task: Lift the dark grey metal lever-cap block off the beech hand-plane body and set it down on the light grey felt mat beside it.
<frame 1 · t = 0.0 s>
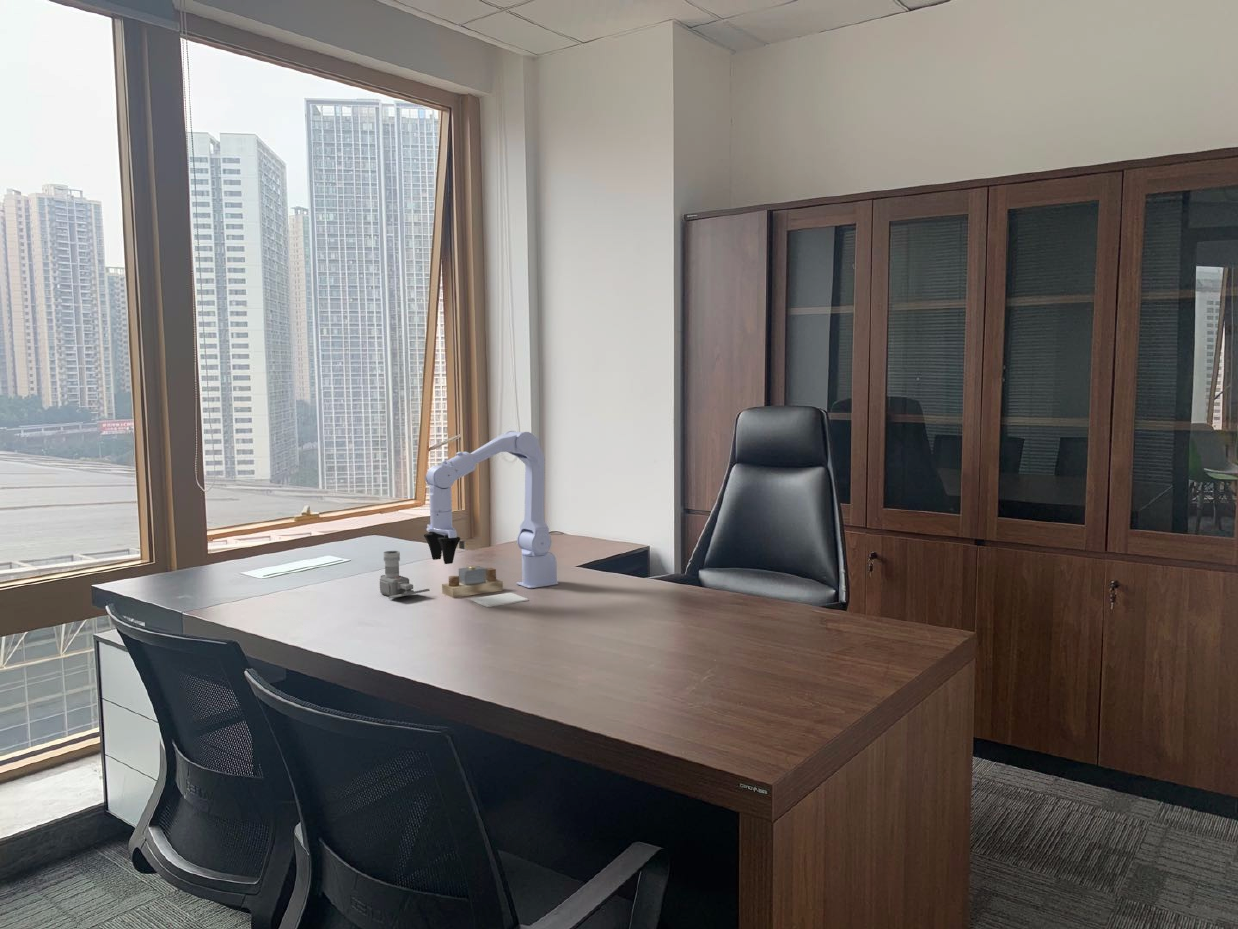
hand: (442, 561, 248), 10 cm above the table, fingers open, 7 cm apart
plane body: (472, 591, 257), on the table
felt mat: (499, 600, 246), on the table
lever cap: (472, 582, 257), point 2 cm above the table, touching plane body
camera: (400, 597, 253), on the table
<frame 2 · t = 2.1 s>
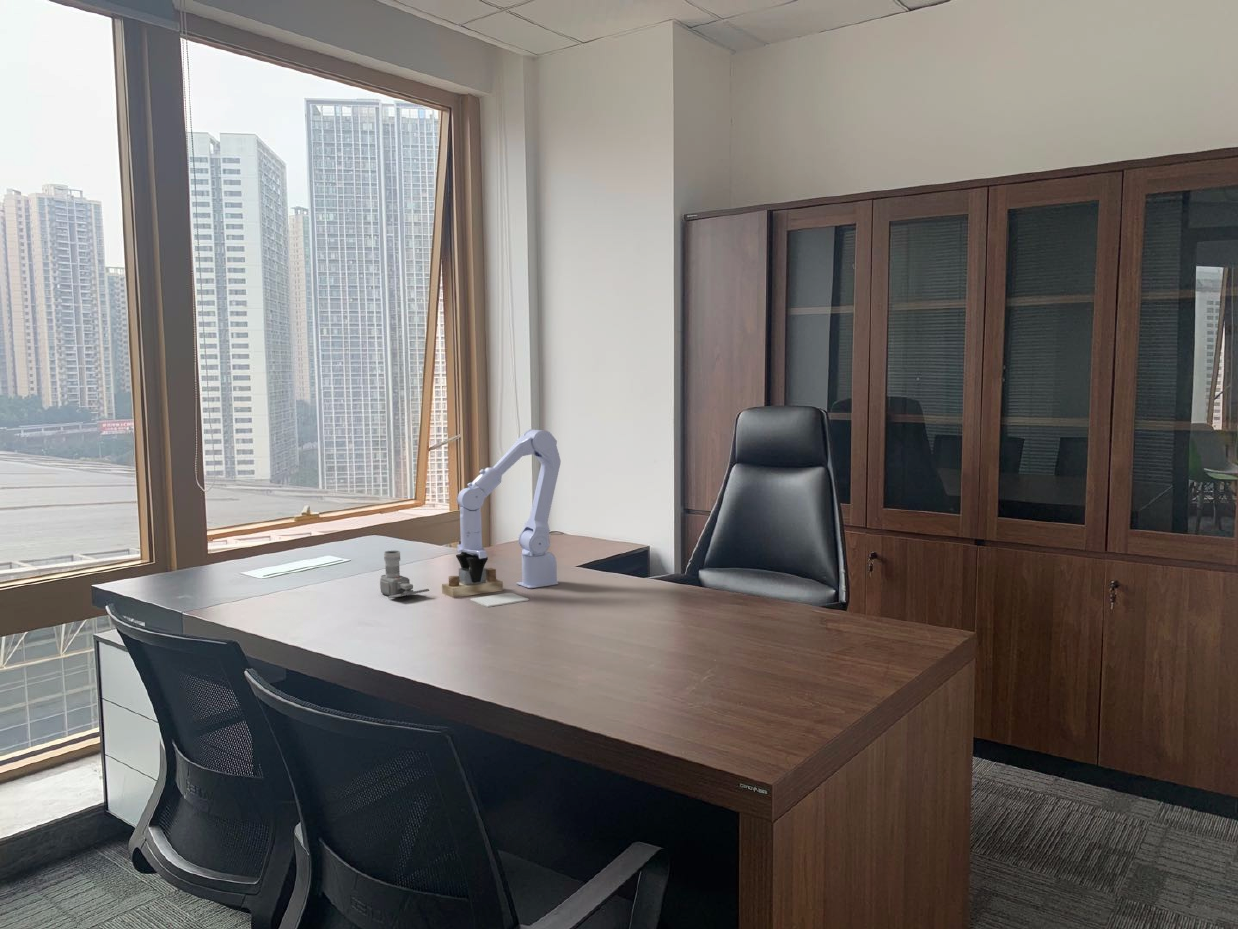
hand: (472, 580, 257), 3 cm above the table, fingers closed on lever cap, 4 cm apart
lever cap: (472, 582, 257), point 2 cm above the table, touching gripper, plane body
everything else where it was.
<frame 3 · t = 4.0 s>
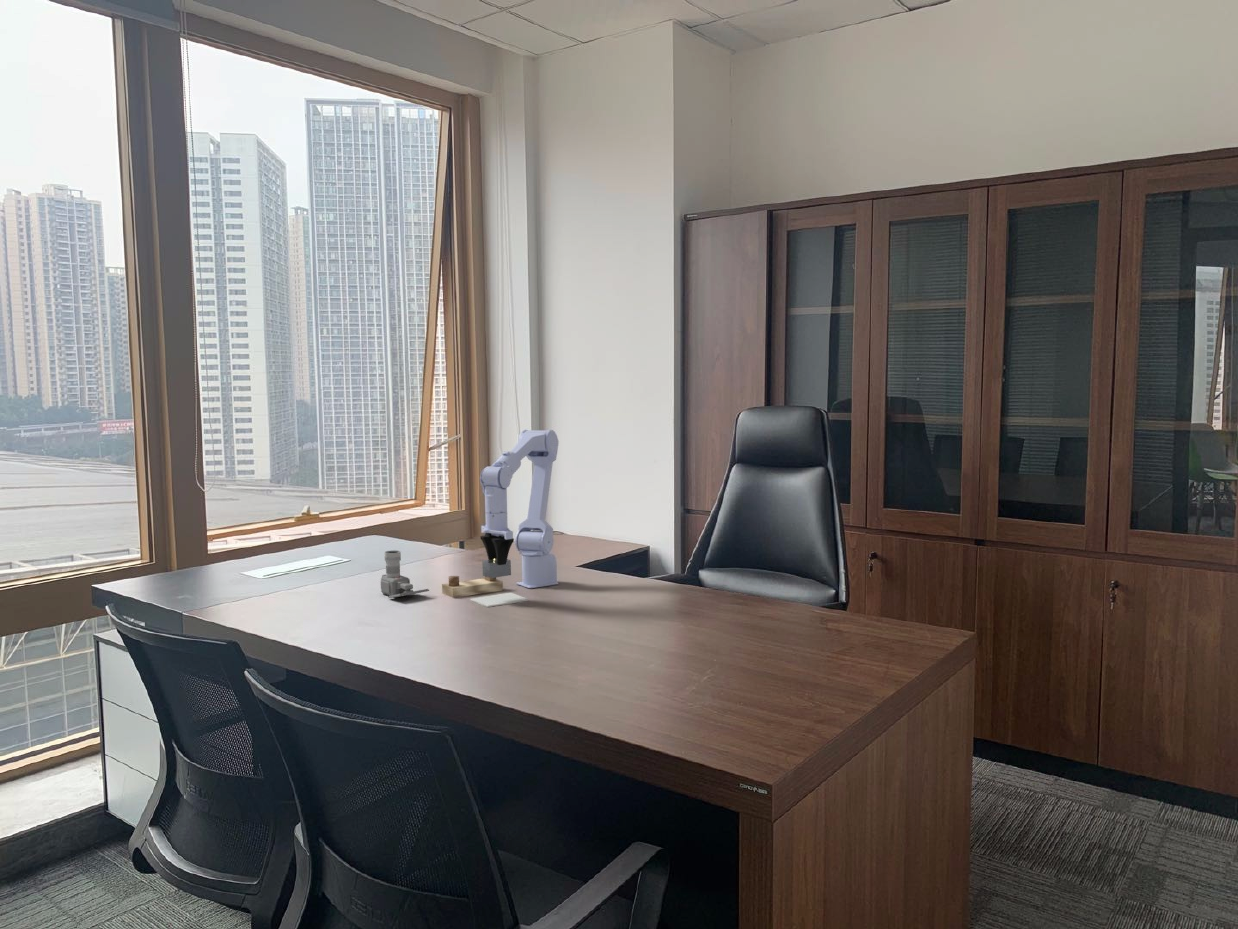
hand: (497, 563, 246), 10 cm above the table, fingers closed on lever cap, 4 cm apart
lever cap: (497, 575, 246), point 7 cm above the table, touching gripper
everything else where it was.
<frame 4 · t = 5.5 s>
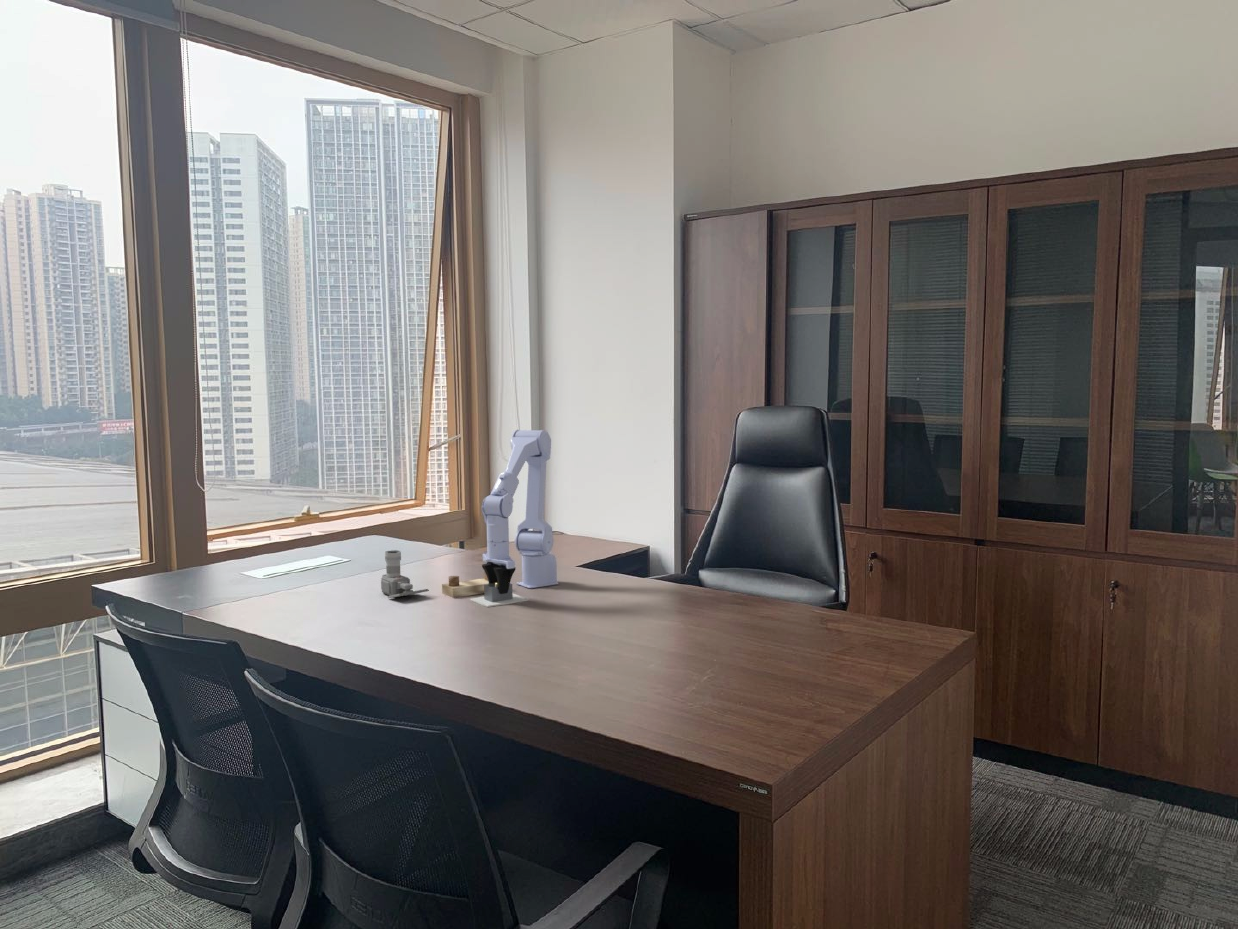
hand: (499, 591, 246), 2 cm above the table, fingers closed on lever cap, 4 cm apart
lever cap: (498, 599, 246), resting on felt mat, touching gripper
everything else where it was.
when the fingers open (2 cm above the table, at t = 6.4 s): lever cap stays where it is, resting on felt mat.
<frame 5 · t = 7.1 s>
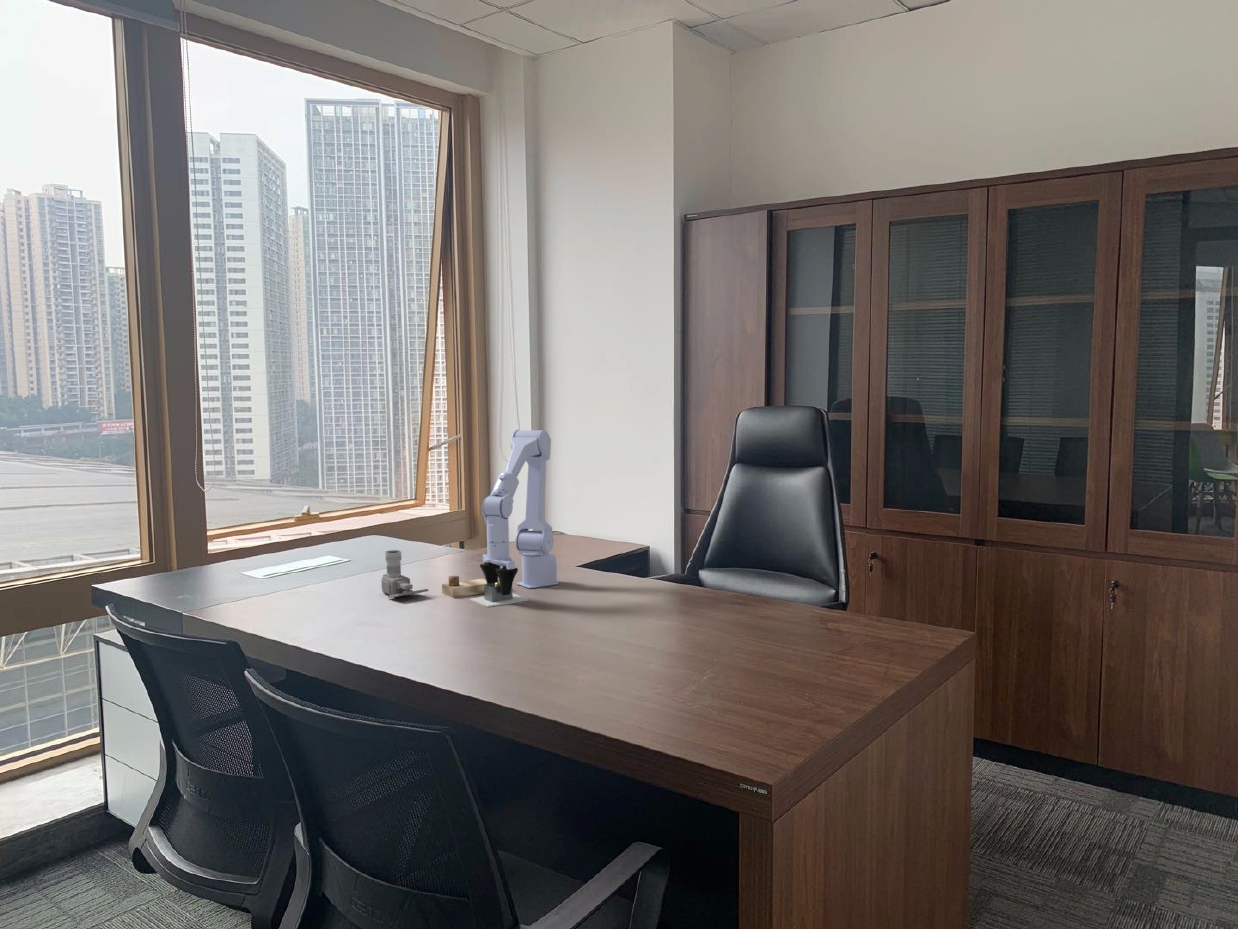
hand: (499, 592, 246), 2 cm above the table, fingers open, 7 cm apart
lever cap: (498, 599, 246), resting on felt mat
everything else where it was.
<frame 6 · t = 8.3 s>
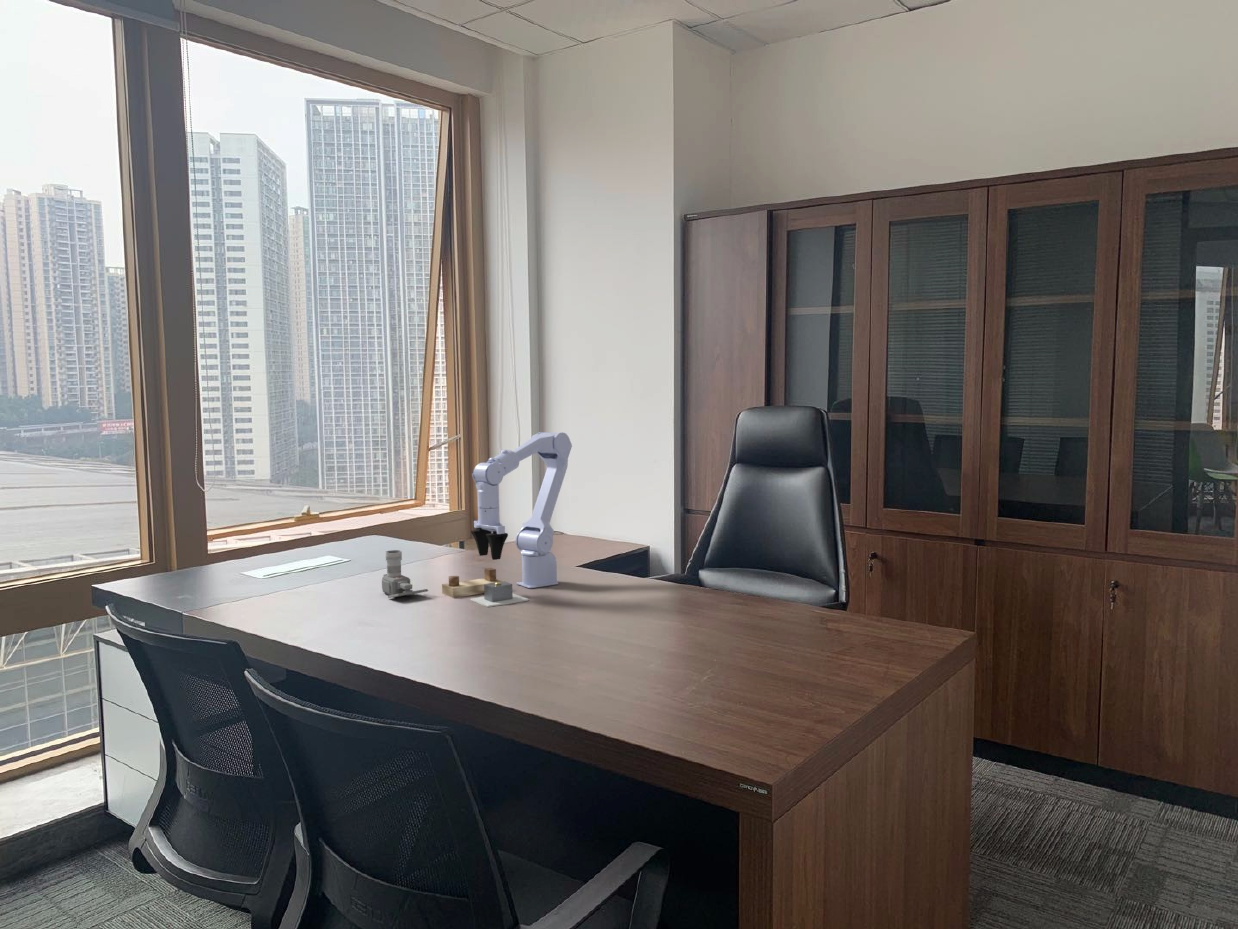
hand: (489, 557, 252), 10 cm above the table, fingers open, 7 cm apart
nothing on the table moved.
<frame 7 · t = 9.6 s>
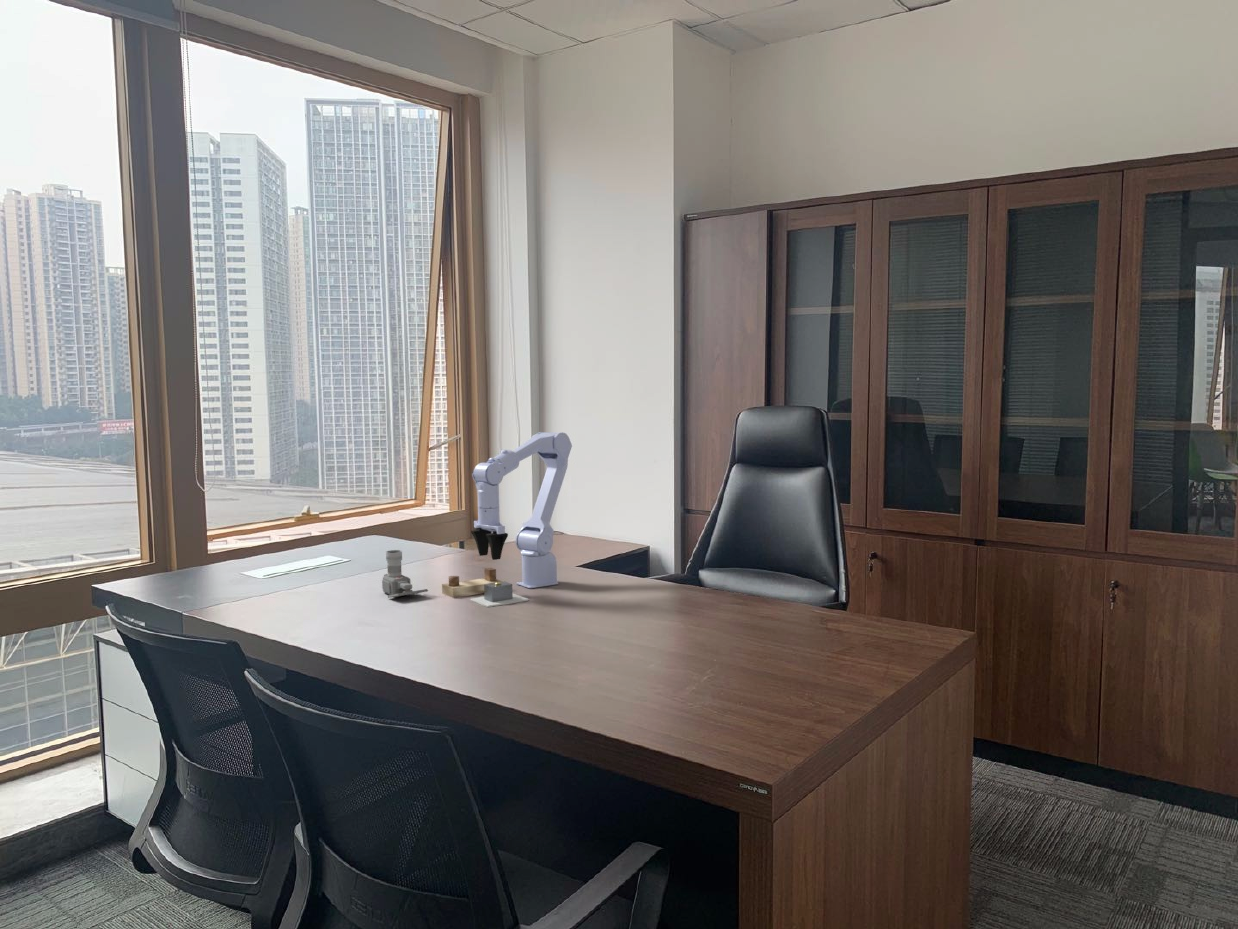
hand: (489, 557, 252), 10 cm above the table, fingers open, 7 cm apart
nothing on the table moved.
at the end: lever cap inside the target area on the felt mat (0.3 cm from its centre), point 0.4 cm above the felt mat's base; lever cap resting on felt mat; the gripper is holding nothing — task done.
